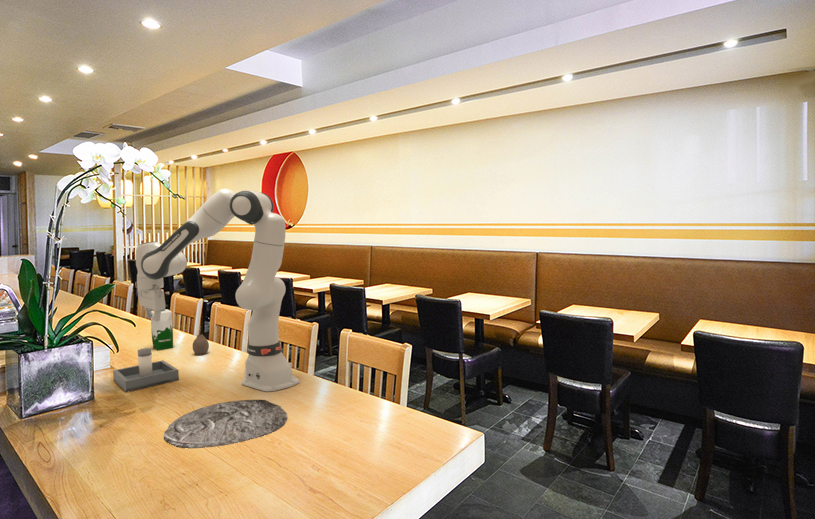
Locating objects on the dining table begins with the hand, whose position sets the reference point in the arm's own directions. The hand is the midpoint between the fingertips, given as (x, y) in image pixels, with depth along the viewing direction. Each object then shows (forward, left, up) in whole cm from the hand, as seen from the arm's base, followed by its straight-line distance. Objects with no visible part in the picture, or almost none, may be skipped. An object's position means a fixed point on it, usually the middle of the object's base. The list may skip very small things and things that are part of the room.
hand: (153, 319), depth 184 cm
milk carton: (+46, -16, -23) cm, 54 cm away
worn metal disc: (-61, -2, -24) cm, 65 cm away
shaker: (0, +4, -22) cm, 22 cm away
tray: (0, +4, -23) cm, 23 cm away
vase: (+22, -25, -23) cm, 41 cm away
